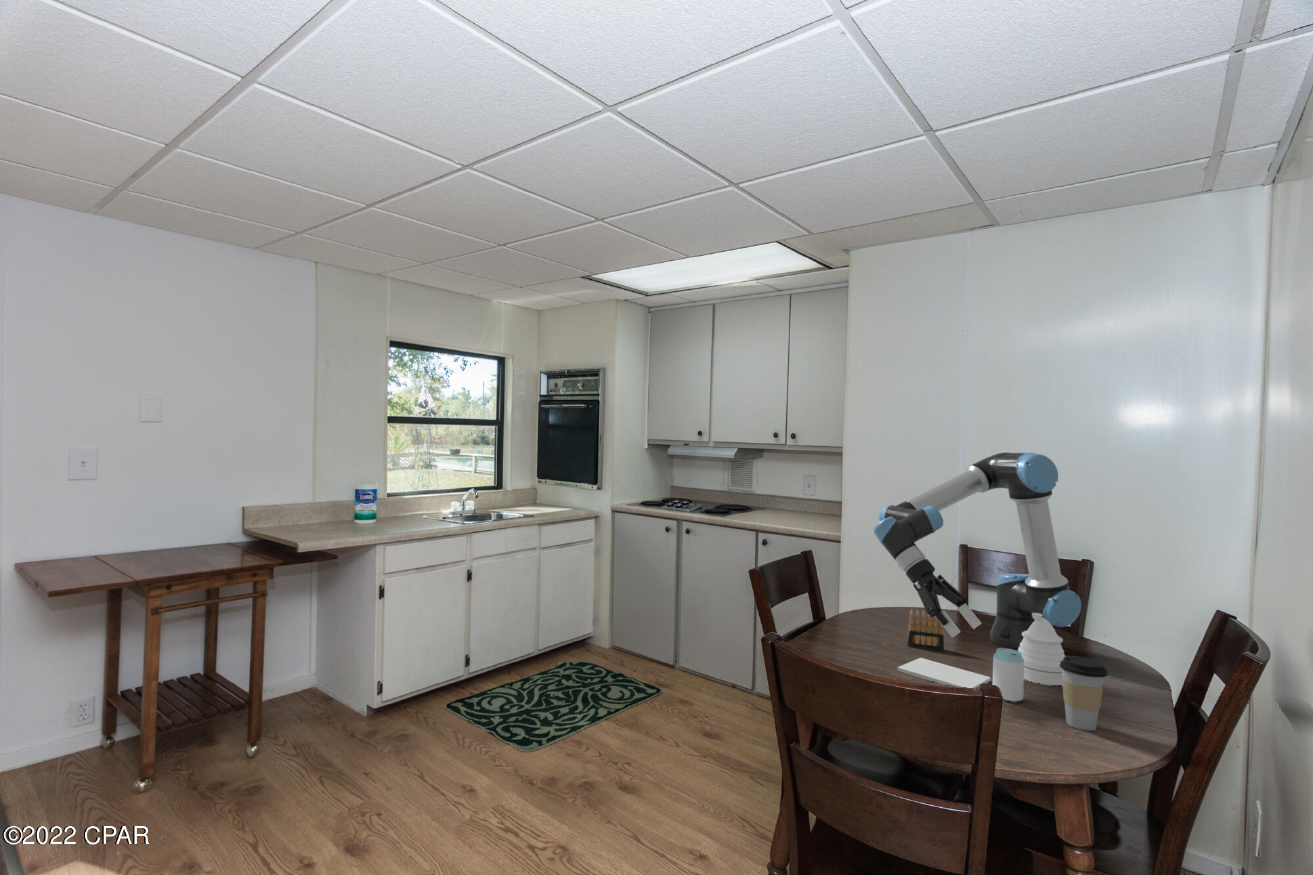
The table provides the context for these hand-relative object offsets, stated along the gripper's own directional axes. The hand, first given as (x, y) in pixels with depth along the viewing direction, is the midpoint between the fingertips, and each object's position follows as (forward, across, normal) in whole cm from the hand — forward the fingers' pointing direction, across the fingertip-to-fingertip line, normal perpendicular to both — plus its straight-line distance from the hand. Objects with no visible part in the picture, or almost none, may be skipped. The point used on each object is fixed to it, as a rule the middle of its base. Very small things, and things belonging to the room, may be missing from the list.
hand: (967, 630), depth 173 cm
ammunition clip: (-5, -24, -26) cm, 36 cm away
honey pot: (+18, -25, -3) cm, 31 cm away
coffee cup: (+30, +3, +9) cm, 32 cm away
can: (+18, 0, -3) cm, 18 cm away
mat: (+6, -2, -16) cm, 17 cm away
